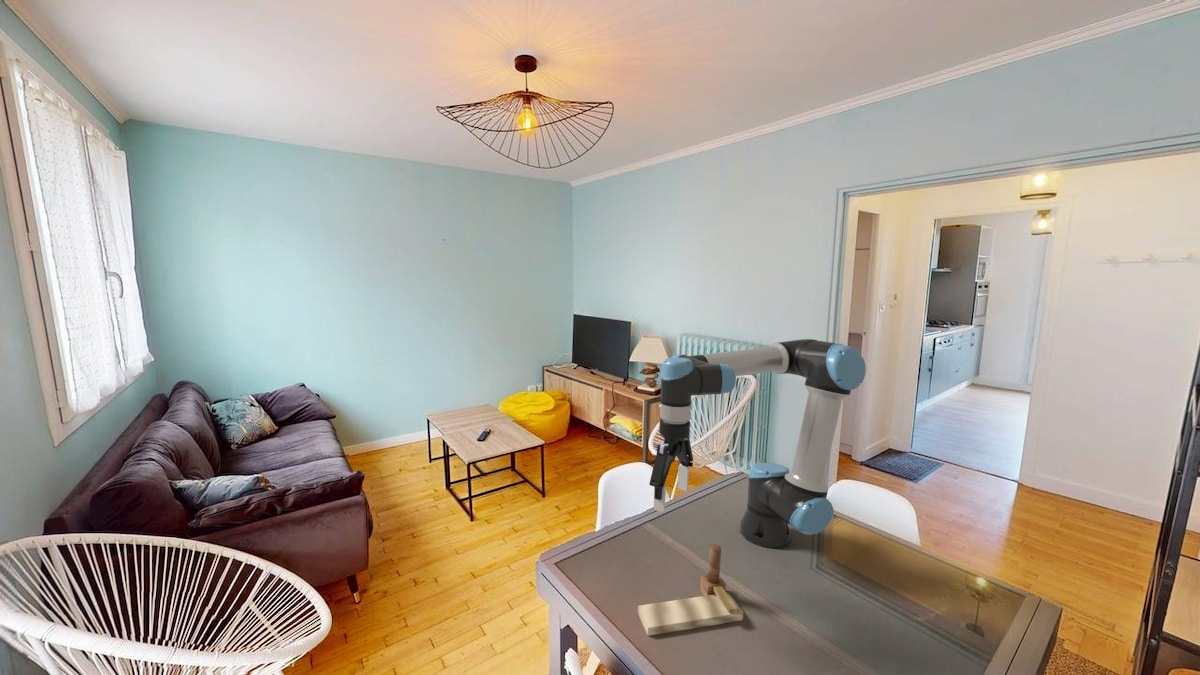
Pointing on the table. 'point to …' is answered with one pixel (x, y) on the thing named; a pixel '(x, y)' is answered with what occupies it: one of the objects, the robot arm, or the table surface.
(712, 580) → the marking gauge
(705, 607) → the board
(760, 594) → the table surface
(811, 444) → the robot arm
